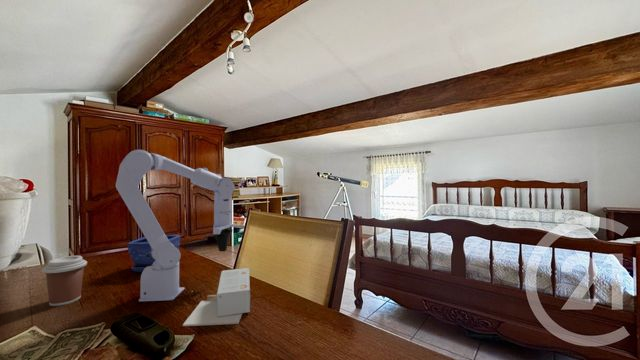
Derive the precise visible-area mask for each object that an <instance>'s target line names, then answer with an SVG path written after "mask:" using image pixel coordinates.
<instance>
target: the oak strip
mask: <svg viewBox="0 0 640 360" xmlns="http://www.w3.org/2000/svg"><path fill="white" fill-rule="evenodd" d="M206 298H207V299H206V301H209V300H217V294H208V295H207V296H206Z"/></svg>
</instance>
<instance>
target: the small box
mask: <svg viewBox="0 0 640 360" xmlns="http://www.w3.org/2000/svg"><path fill="white" fill-rule="evenodd" d="M250 285H251V284H250V268H249V267H244V268H236V269H226V270H221V273H220V277H219V282H218V286H217V287H218V288H217V291H216V295H217V309H218V317H221V316H227V315H234V314H240V313H243V314H246V313H250V312H251V286H250Z"/></svg>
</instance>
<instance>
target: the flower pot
mask: <svg viewBox="0 0 640 360" xmlns="http://www.w3.org/2000/svg"><path fill="white" fill-rule="evenodd" d="M165 235H166V237H167V238H168V239H169V241H170V242H171V243H172V244H173V245H174V247H176V248H177V249H179V248H180V243H181V235H179V234H178V235H176V234H165ZM127 249H128V254H129V257H130V259H131V261H132V262H133V263H134V265H133V266H131V267H130V269H131V270H132V271H134V272H136V273H142V272H143V270H144V269H145V268H146V267H148V266H152V265H153V263H154V261H155V259H154V258H153V257H152V254H151V251H152V249H151V246H150V244H149V243H148V241H147V239H146V237H145V236H144V237H140V238H138V239H134V240H132V241H130V242H128V243H127Z"/></svg>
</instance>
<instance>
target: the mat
mask: <svg viewBox="0 0 640 360" xmlns="http://www.w3.org/2000/svg"><path fill="white" fill-rule="evenodd" d="M243 314H244V313H240V314H234V315H227V316H221V317H218V309H217V300H209V301H207V300H200V302H199V304H198V305H197V306H196V307H195V308H194V310H193V311H192V312H191V314H189V316H188V317H187V319H186V320H185V321H184V323H182V327H198V326H216V325H217V326H219V325H236V324H237V325H239V324H240V321H241V318H242V315H243Z"/></svg>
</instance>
